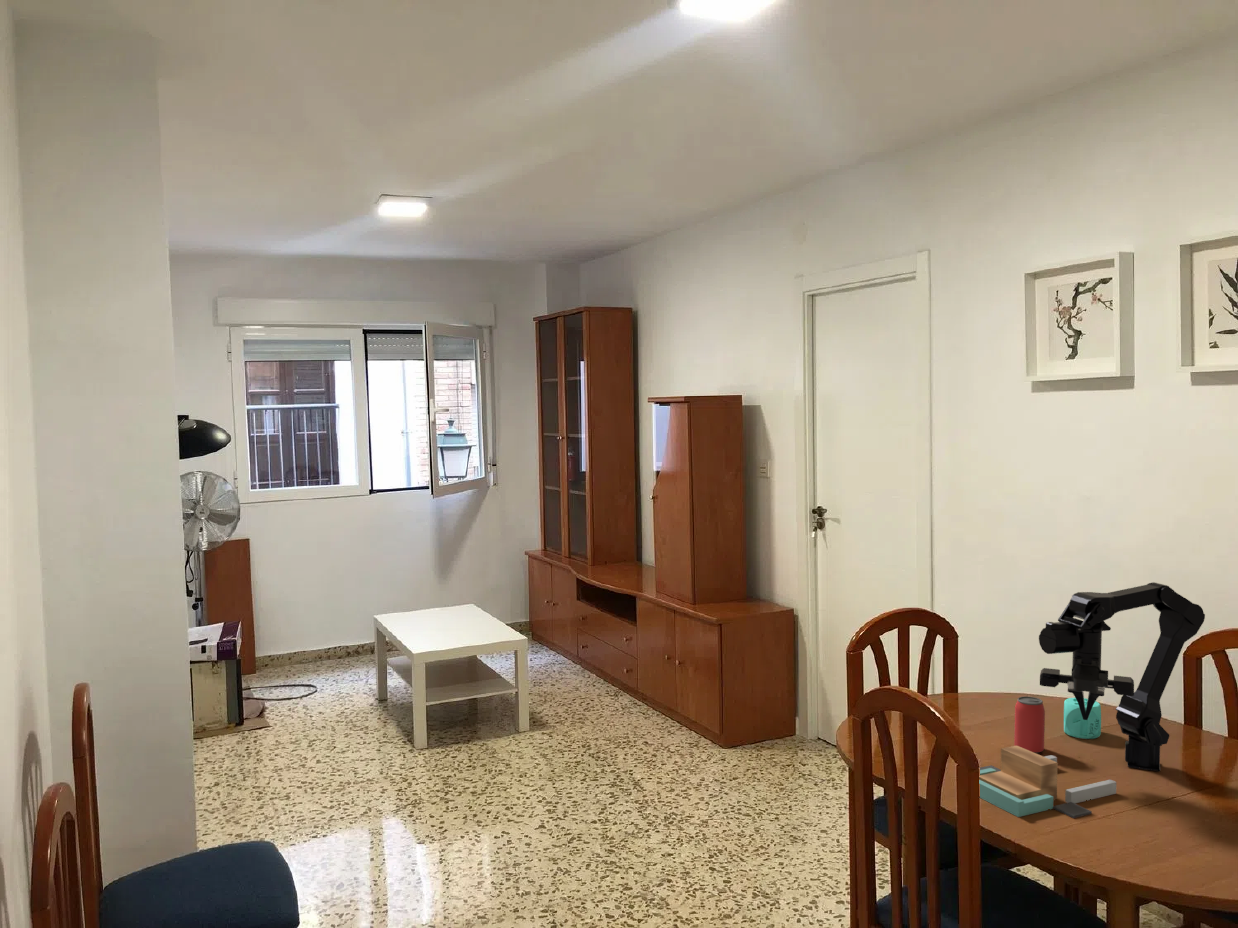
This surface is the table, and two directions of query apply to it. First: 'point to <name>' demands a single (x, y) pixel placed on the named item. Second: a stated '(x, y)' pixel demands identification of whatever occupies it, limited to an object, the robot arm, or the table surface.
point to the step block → (1024, 774)
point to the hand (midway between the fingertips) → (1085, 719)
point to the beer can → (1029, 724)
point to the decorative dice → (1081, 720)
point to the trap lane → (1044, 797)
